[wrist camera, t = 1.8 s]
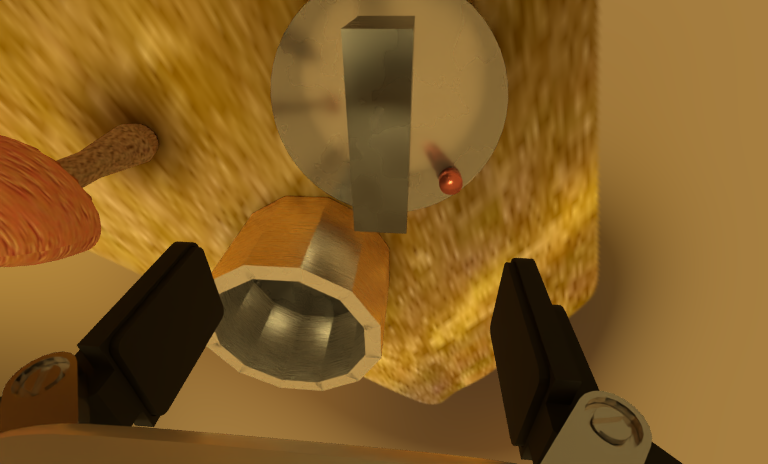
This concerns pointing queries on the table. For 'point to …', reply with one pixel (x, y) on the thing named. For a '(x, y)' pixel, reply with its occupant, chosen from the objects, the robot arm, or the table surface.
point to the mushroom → (60, 194)
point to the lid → (389, 102)
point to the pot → (302, 296)
